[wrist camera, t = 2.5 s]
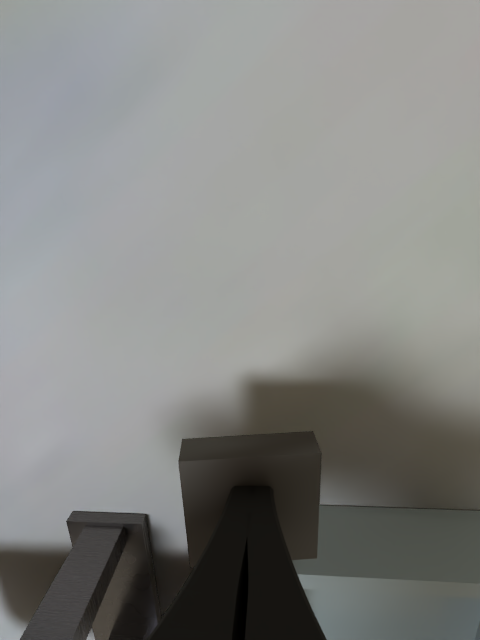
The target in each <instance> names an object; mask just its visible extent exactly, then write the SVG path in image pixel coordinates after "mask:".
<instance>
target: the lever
mask: <svg viewBox="0 0 480 640" xmlns="http://www.w3.org/2000/svg"><path fill="white" fill-rule="evenodd" d="M179 471H180V480H181V489H182V498H183V507H184V516H185V525H186V534H187V543H188V552H189V561H190V567H195V565H196V563H197V561H198V560H199V558H200V556H201V554H202V553H203V551H204V549H205V547H206V545H207V543H208V541H209V539H210V537H211V535H212V533H213V531H214V529H215V527H216V525H217V523H218V521H219V518H220V516H221V514H222V512H223V509H224V507H225V504H226V502H227V499H228V496H229V493H230V490H231V489H232V488H233V487H234V486H270V487H271V488H272V489H273V491H274V500H275V506H276V511H277V515H278V519H279V522H280V526H281V529H282V533H283V536H284V539H285V542H286V545H287V548H288V551H289V553H290V556H291V559H292V560H302V559H316V558H317V550H318V525H319V500H320V475H321V451H320V448H319V446H318V443H317V440H316V438H315V435H314V433H313V431H309V432H292V433H275V434H259V435H242V436H225V437H209V438H192V439H182V444H181V450H180V456H179Z"/></svg>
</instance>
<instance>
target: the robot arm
mask: <svg viewBox="0 0 480 640" xmlns="http://www.w3.org/2000/svg"><path fill="white" fill-rule="evenodd" d="M147 640H327V639H326V637H325V635H324V633H323V631H322V629H321V627H320V625H319V623H318V620H317V618H316V616H315V614H314V612H313V610H312V608H311V605H310V603H309V601H308V599H307V596H306V594H305V592H304V589H303V587H302V585H301V582H300V580H299V577H298V575H297V572H296V570H295V567H294V564H293V562H292V559H291V556H290V553H289V551H288V548H287V545H286V542H285V539H284V536H283V533H282V529H281V526H280V522H279V519H278V515H277V511H276V506H275V500H274V491H273V489H272V488H271V487H270V486H234V487H233V488H232V489H231V490H230V493H229V496H228V499H227V502H226V504H225V507H224V509H223V512H222V514H221V516H220V518H219V521H218V523H217V525H216V527H215V529H214V531H213V533H212V535H211V537H210V539H209V541H208V543H207V545H206V547H205V549H204V551H203V553H202V554H201V556H200V558H199V560H198V561H197V563H196V565H195V567H194V568H193V570H192V572H191V574H190V575H189V577H188V579H187V581H186V582H185V584H184V585H183V587H182V589H181V590H180V592H179V593H178V595H177V597H176V598H175V600H174V601H173V603H172V604H171V606H170V607H169V609H168V610H167V612H166V613H165V615H164V616H163V618H162V619H161V620H160V622H159V623H158V625H157V626H156V627H155V629H154V630H153V631H152V633H151V634H150V636H149V637H148V638H147Z"/></svg>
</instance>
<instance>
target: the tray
mask: <svg viewBox="0 0 480 640" xmlns="http://www.w3.org/2000/svg"><path fill="white" fill-rule="evenodd" d="M292 562H293V564H294V567H295V570H296V572H297V575H298V577H299V580H300V582H301V585H302V587H303V589H304V592H305V594H306V596H307V599H308V601H309V603H310V605H311V608H312V610H313V612H314V614H315V616H316V618H317V620H318V623H319V625H320V627H321V629H322V631H323V633H324V635H325V637H326V639H327V640H480V511H471V510H442V509H413V508H384V507H355V506H326V505H319V525H318V550H317V558H316V559H302V560H292Z"/></svg>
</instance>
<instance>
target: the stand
mask: <svg viewBox="0 0 480 640" xmlns="http://www.w3.org/2000/svg"><path fill="white" fill-rule="evenodd" d="M66 522H67V526H68V530H69V534H70V538H71V542H72V546H73V548H72V549H71V551H70V553H69V555H68V556H67V558H66V560H65V562H64V563H63V565H62V567H61V569H60V570H59V572H58V574H57V576H56V577H55V579H54V581H53V583H52V584H51V586H50V588H49V590H48V591H47V593H46V595H45V597H44V598H43V600H42V602H41V604H40V605H39V607H38V609H37V611H36V612H35V614H34V616H33V618H32V619H31V621H30V623H29V625H28V626H27V628H26V630H25V631H24V633H23V635H22V637H21V638H20V640H86V639H87V636H88V634H89V631H90V629H91V627H92V628H93V632H94V636H95V640H147V638H148V637H149V636H150V634H151V633H152V631H153V630H154V629H155V627H156V626H157V625H158V623H159V622H160V620H161V619H162V618H161V611H160V605H159V599H158V592H157V586H156V579H155V573H154V566H153V560H152V553H151V547H150V540H149V534H148V527H147V521H146V514H123V513H97V512H72V513H71V515H70V516H69V518H68V519H67V521H66Z"/></svg>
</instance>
